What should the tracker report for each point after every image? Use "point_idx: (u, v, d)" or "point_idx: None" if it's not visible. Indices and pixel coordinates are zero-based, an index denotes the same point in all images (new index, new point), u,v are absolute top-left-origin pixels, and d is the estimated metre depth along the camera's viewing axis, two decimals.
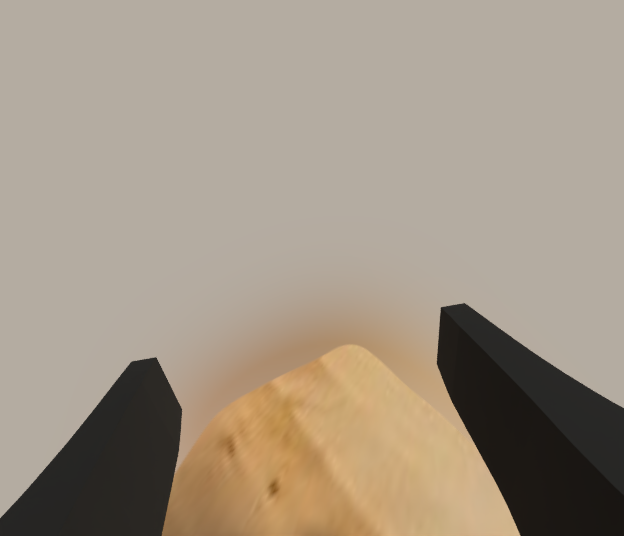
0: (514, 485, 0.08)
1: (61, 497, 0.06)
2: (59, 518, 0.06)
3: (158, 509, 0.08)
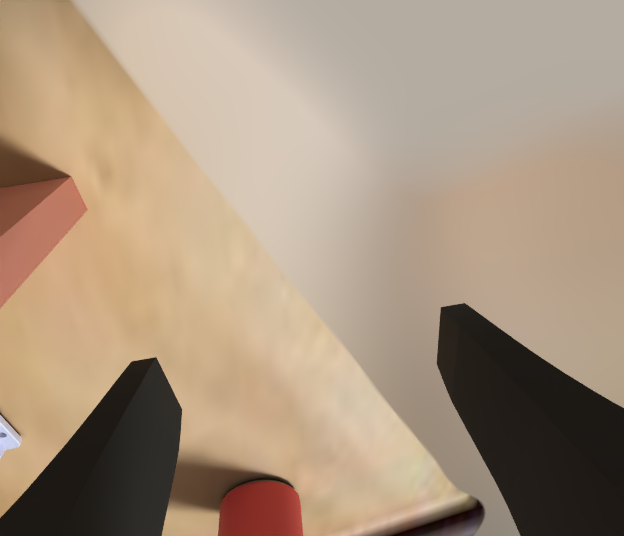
0: (514, 485, 0.08)
1: (61, 497, 0.06)
2: (59, 518, 0.06)
3: (158, 510, 0.08)
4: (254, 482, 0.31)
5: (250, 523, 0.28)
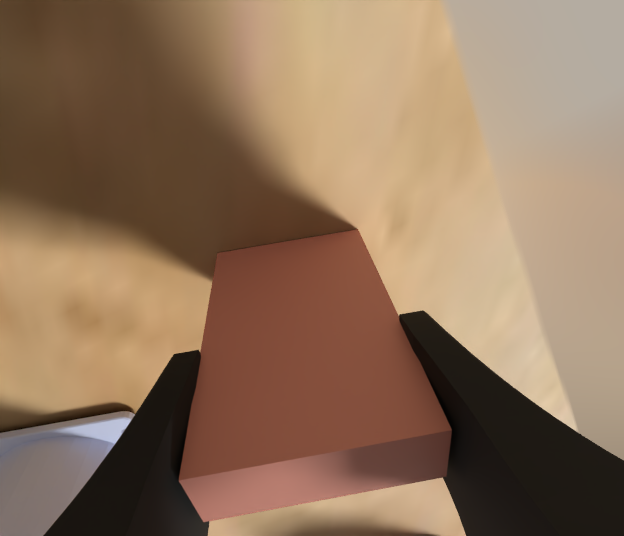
0: (462, 495, 0.08)
1: (127, 485, 0.06)
2: (128, 506, 0.06)
3: None
4: None
5: None
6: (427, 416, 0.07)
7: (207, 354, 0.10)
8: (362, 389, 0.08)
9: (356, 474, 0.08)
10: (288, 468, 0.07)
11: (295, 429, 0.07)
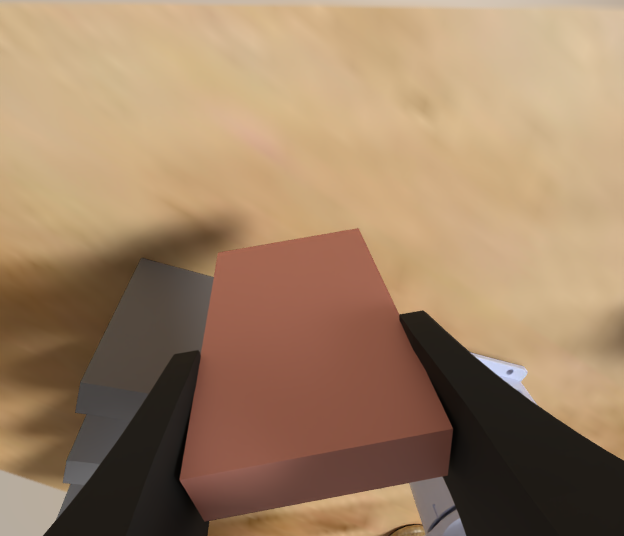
0: (462, 495, 0.08)
1: (127, 485, 0.06)
2: (128, 506, 0.06)
3: None
4: None
5: None
6: (428, 415, 0.07)
7: (208, 353, 0.10)
8: (363, 388, 0.08)
9: (357, 473, 0.08)
10: (288, 468, 0.07)
11: (296, 428, 0.07)
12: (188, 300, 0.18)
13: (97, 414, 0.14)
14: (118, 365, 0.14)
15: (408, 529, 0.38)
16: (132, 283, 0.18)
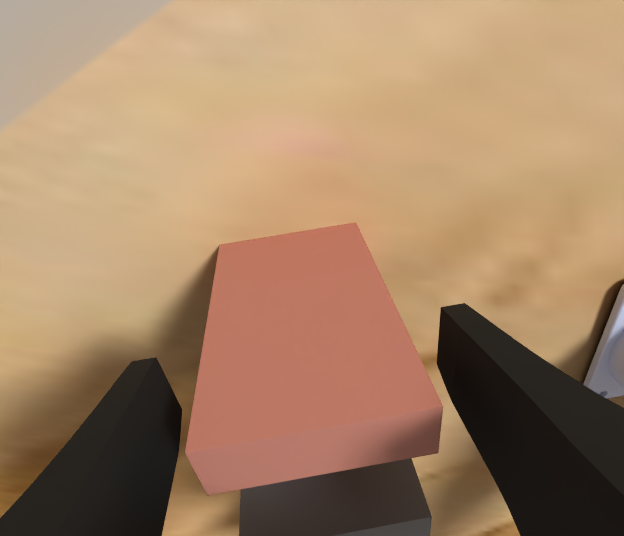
0: (514, 485, 0.08)
1: (61, 497, 0.06)
2: (59, 518, 0.06)
3: (158, 510, 0.08)
4: None
5: None
6: (420, 394, 0.08)
7: (210, 339, 0.10)
8: (359, 370, 0.08)
9: (352, 449, 0.08)
10: (287, 443, 0.08)
11: (295, 406, 0.08)
12: None
13: None
14: (272, 506, 0.11)
15: None
16: None
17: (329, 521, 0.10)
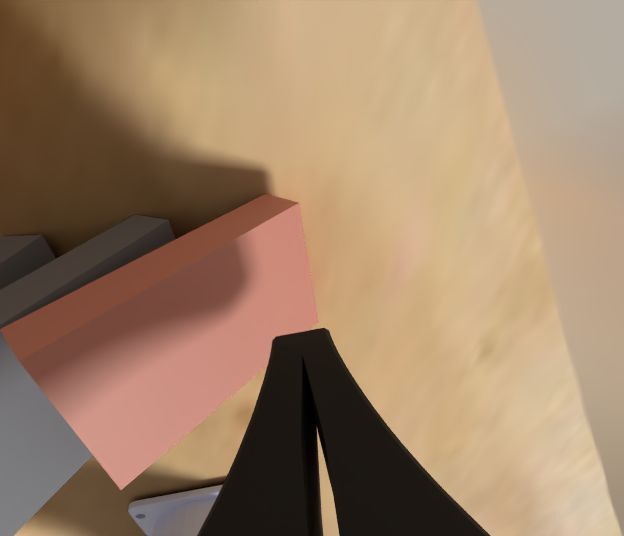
0: None
1: (284, 456, 0.06)
2: (290, 476, 0.06)
3: (317, 480, 0.09)
4: None
5: None
6: (128, 473, 0.10)
7: (160, 288, 0.09)
8: (143, 427, 0.10)
9: None
10: (61, 414, 0.09)
11: (96, 409, 0.09)
12: None
13: None
14: None
15: None
16: (112, 260, 0.11)
17: None
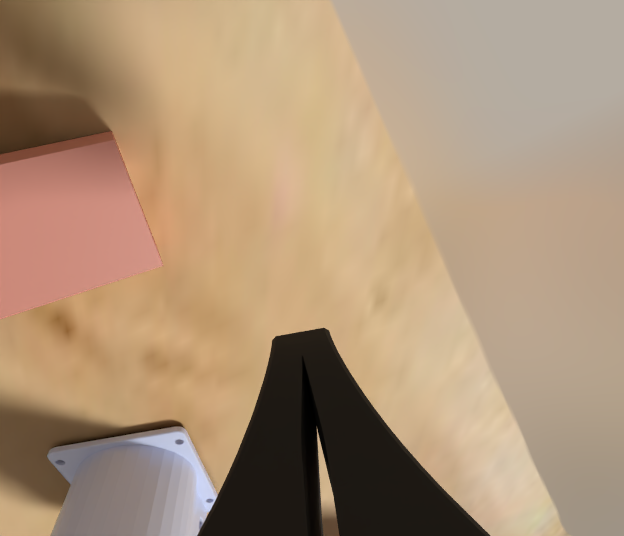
0: None
1: (284, 456, 0.06)
2: (290, 475, 0.06)
3: (317, 479, 0.09)
4: None
5: None
6: None
7: None
8: None
9: None
10: None
11: None
12: None
13: None
14: None
15: None
16: None
17: None
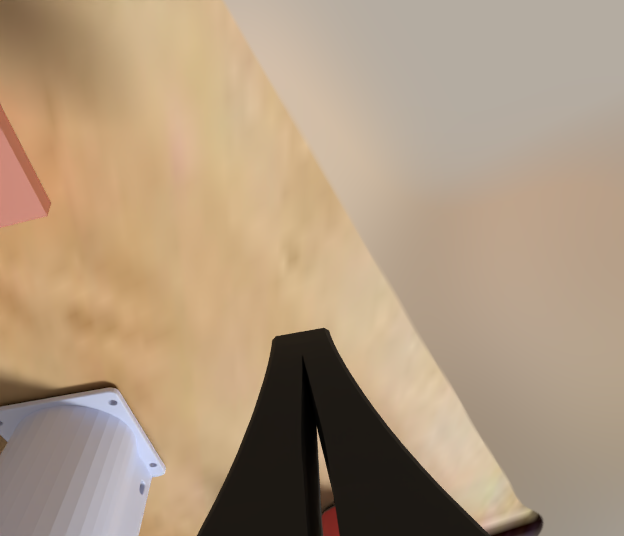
0: None
1: (284, 456, 0.06)
2: (290, 475, 0.06)
3: (317, 480, 0.09)
4: None
5: None
6: None
7: None
8: None
9: None
10: None
11: None
12: None
13: None
14: None
15: None
16: None
17: None
